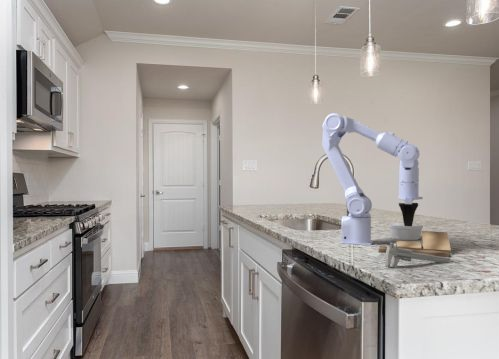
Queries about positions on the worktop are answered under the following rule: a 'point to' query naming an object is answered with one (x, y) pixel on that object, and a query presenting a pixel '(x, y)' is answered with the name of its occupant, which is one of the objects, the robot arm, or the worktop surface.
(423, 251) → the floor panel
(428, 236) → the right plank
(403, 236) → the ramekin
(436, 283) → the worktop surface
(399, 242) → the left plank
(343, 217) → the robot arm
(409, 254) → the caliper
